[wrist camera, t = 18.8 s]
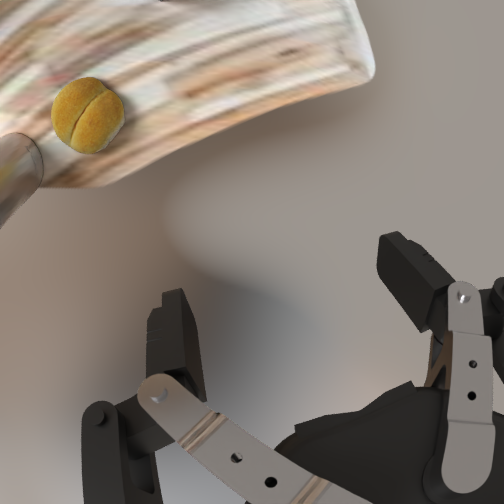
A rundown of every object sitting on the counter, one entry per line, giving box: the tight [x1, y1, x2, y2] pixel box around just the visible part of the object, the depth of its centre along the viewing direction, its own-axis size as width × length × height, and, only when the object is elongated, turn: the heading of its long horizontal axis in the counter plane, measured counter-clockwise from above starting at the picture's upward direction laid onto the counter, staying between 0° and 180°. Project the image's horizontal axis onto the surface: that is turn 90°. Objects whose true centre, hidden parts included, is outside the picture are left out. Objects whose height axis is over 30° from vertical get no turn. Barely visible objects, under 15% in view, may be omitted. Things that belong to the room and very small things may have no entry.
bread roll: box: [51, 77, 125, 154], centre depth 29 cm, size 8×9×4 cm
